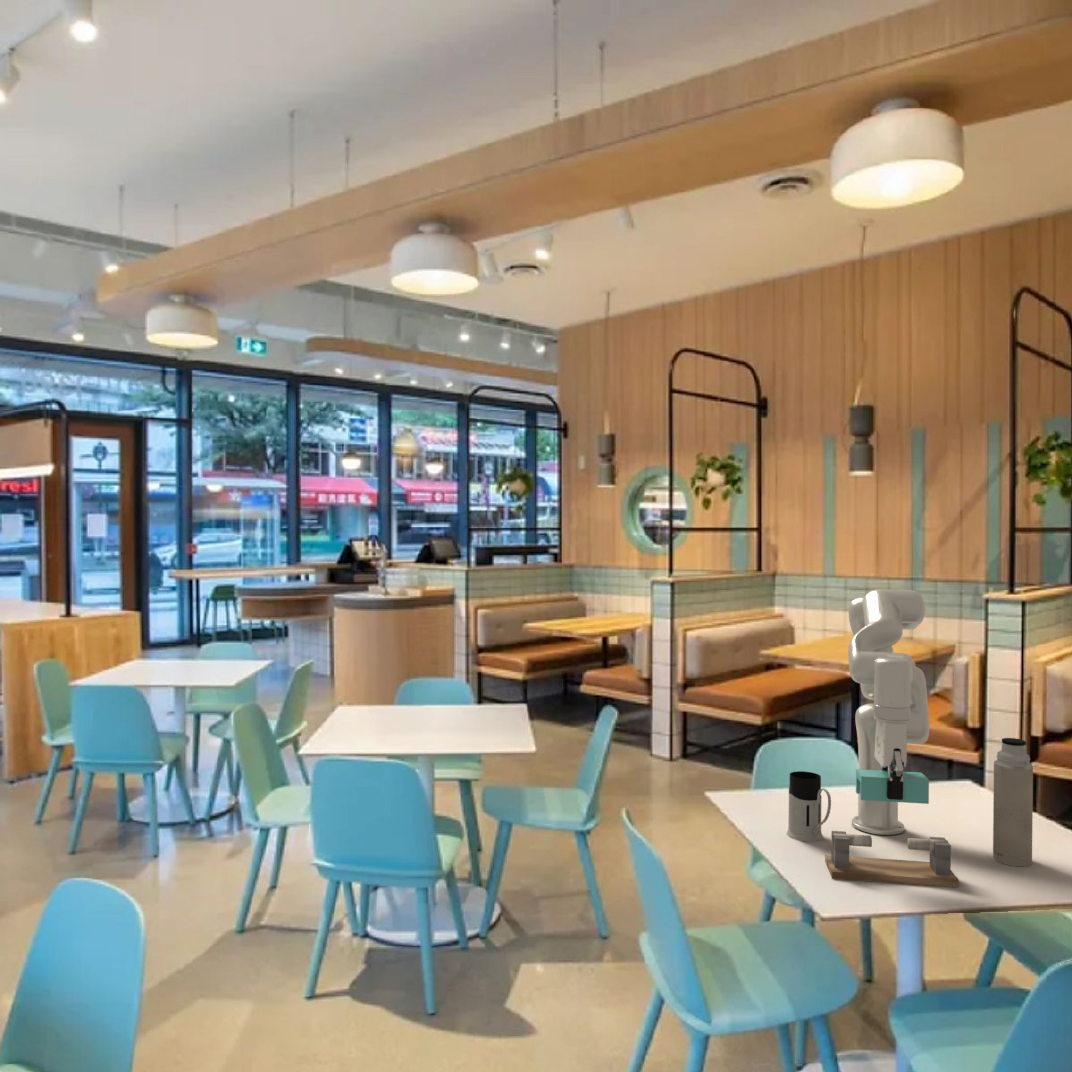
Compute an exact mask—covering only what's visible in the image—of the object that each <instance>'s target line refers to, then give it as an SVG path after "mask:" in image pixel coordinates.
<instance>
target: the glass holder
mask: <svg viewBox="0 0 1072 1072" xmlns="http://www.w3.org/2000/svg"><path fill="white" fill-rule="evenodd" d="M821 786H822V777H821V774H818V773H815V772H811V771H802V770H799V771H791V772H790V773H789V786H788V829H787V831H786V836H787V837H789V838H790V839H793V840H797V841H800V842H801V841H802V842H818V841H822V840H823V839H824V835H823V833H822V825H824V824H825V823H826V822H827V820H828V818H829V817H830V814H831V809H832V808H831V807H832V797H831V793H830V792H829V791H828V790H827V788H823V787H821ZM822 791H824V792H825V794H826V796H827V809H826V814H825V817H824V819H823V820H822Z"/></svg>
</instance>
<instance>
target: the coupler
mask: <svg viewBox="0 0 1072 1072" xmlns="http://www.w3.org/2000/svg"><path fill="white" fill-rule="evenodd" d="M892 772H893V771H892ZM887 780H889V776H888V771H880V770H860V769H859V768H858V769H855V793H856V794H857V795H858V794H860V799H861V800H869V801H887V802H898V803H907V804H908V803H909V804H922V805H923V804H926V805H928V804H930V803H929V802H930V799H929V797H930V793H929V792H930V780H929V778H928V777H927V776H926V775H925V774H923V773H922V772H915V771H903V799H902V800H894V799H888V798H887Z"/></svg>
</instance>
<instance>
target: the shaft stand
mask: <svg viewBox="0 0 1072 1072" xmlns="http://www.w3.org/2000/svg"><path fill="white" fill-rule="evenodd" d="M830 839H831V846H830V847H831V848H830V850H831V851H830V853H831V855H829V854H828V855H827V854H824V862H825V865H826V868H827V869H828V872H829V875H830V877H831V879H838V880H846V881H847V880H850V881H863V882H864V881H866V882H877V883H878V882H879V883H890V884H891V883H893V884H906V885H907V884H908V885H909V884H910V885H923V886H935V887H950V888H951V887H952V888H960V881H959V879H958V877H957V876H956V875H955V873H954V872H953V870H952V869H951V862H952V859H951V858H952V855H951V854H952V853H951V852H952V851H951V850H952V848H951V847H952V845H951V844H950V843H949V841H948V840H947V839H946V838H945V837H943V836H942V837H939V836H929V838H917V837H916V838H914V837H908V838H907V849H908V850H911V851H912V850H913V851H916V850H917V851H929V861H923V860H907V859H893V858H892V859H891V858H889V859H888V858H878V857H877V858H876V857H860V856H850V846H851V847H863V848H864V847H867V848H871V847H872V846H873V840H872V836H871V835H869V834H868V835H865V834H851V833H849V834H848V833H847V832H846V831H841V830H838V831H837V830H831V837H830Z"/></svg>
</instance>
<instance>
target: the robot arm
mask: <svg viewBox="0 0 1072 1072" xmlns="http://www.w3.org/2000/svg"><path fill="white" fill-rule="evenodd" d="M925 614H926V605H925V601H924V598H923V596H922V594H920V593H919V592H918V591H917V590H913V589H900V588H899V589H897V588H895V589H891V588H890V589H889V588H878V589H877V588H876V589H872V590H870V591H869V592H867V593H866V594H865V595H864V596H862V597H861V596H860V597H855V598H853V600H851V601H850V602H849V605H848V620H849V625H850V628H851V629H850V630H851V632H852V635H853V636H852V638H851V640H850V643H849V645H848V652H847V657H848V659H847V660H848V671H849V674H850V677H851V679H852V680H853V681H854V682H855V683H858V684H860V691H861V694H862V695H863V697H864V698H866V699H868V700H870V701H871V700H873V703H866V704H863V705H861V706H859V707H858V708H857V709H856V711H855V716H854V718H855V720H854V721H855V727H856V735H857V736H856V737H857V747H858V748H857V749H858V750H857V751H858V769H860V770H880V771H888V776H889V780H887V798H888V799H894V800H902V799H903V772H904V768H906V767H907V759H908V757H907V754H908V748H907V747H908V746H907V744H908V745H909V744H910V745H911V744H912V745H921V744H925V743H926V742H927V741H928V739H929V737H930V715H929V704H928V703H929V702H928V701H929V700H928V689H927V679H926V676H925V674H924V672H923V670H922V669H921V668H919V667H918V666H916V662H915V660H913V657H912V656H911V655H909V654H907V653H903V652H894V648H893V646H894V645H896V644H897V643H898V642H899V641H900V640H901V639H902V637H903V634H904V632H903V630H906V631H907V630H908V631H909V630H914V629H917V627H919V626H920V624H922V622H923V620H924V618H925ZM892 771H893V772H892ZM857 799H858V802H857V805H858V807H857V815H856V816H853V817H852V819H851V825H852V826H853V827H854V828H855V829H857V830H859V831H861V832H865V833H869V834H873V835H880V836H881V835H882V836H894V835H899V834H902V833H903V832H904V831H905V825H904V823H902V822H901V821H900V820H899V802H887V801H869V800H861V799H860V794H857Z"/></svg>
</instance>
